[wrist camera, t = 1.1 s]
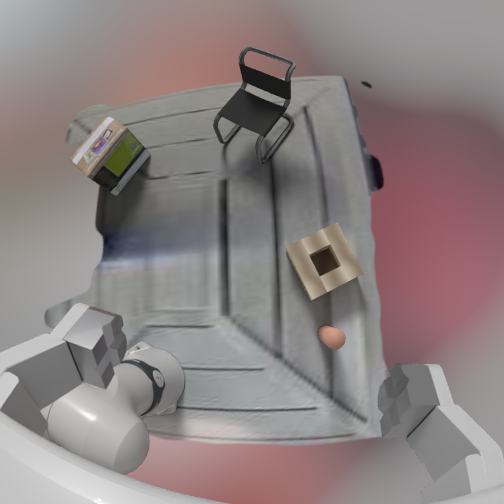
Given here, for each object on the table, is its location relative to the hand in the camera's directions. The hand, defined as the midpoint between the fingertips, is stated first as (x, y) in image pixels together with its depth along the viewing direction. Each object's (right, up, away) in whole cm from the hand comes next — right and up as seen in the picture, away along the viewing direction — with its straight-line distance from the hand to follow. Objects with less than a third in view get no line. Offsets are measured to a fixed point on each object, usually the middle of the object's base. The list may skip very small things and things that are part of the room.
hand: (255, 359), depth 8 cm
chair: (+2, +34, +69) cm, 76 cm away
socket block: (+15, 0, +60) cm, 62 cm away
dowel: (+16, -15, +57) cm, 61 cm away
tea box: (-36, +26, +72) cm, 84 cm away
